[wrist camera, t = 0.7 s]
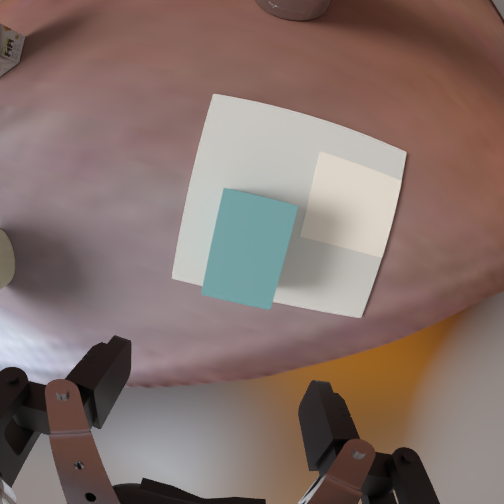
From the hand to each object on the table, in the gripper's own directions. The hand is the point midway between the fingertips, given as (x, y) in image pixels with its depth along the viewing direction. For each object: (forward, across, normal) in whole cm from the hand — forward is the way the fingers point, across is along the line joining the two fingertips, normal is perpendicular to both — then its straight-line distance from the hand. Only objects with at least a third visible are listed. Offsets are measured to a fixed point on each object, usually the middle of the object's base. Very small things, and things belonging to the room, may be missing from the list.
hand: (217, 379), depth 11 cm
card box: (+18, -1, -3) cm, 19 cm away
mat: (+19, -5, -7) cm, 21 cm away
